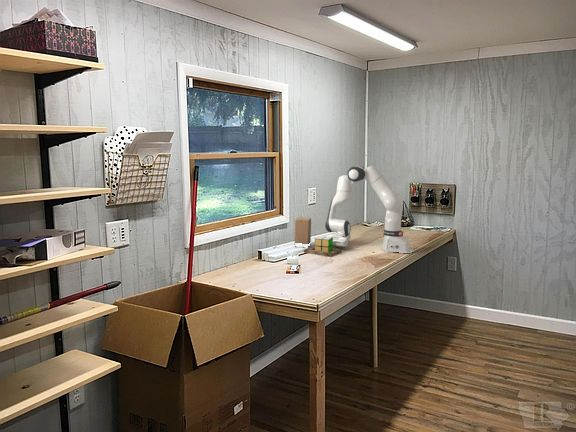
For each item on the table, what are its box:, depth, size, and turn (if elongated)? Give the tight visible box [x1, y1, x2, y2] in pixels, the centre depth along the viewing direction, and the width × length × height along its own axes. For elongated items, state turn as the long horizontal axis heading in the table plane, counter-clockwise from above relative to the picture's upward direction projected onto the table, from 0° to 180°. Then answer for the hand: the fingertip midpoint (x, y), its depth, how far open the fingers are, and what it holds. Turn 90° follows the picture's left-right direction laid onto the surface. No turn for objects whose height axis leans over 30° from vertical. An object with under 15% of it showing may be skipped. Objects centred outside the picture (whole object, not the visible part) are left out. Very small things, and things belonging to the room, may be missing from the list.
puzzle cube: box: [314, 235, 334, 252], centre depth 341 cm, size 10×10×10 cm
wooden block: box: [294, 217, 312, 244], centre depth 357 cm, size 10×10×20 cm
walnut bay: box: [303, 245, 343, 258], centre depth 340 cm, size 20×17×2 cm
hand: (327, 243), depth 345 cm, fingers closed
